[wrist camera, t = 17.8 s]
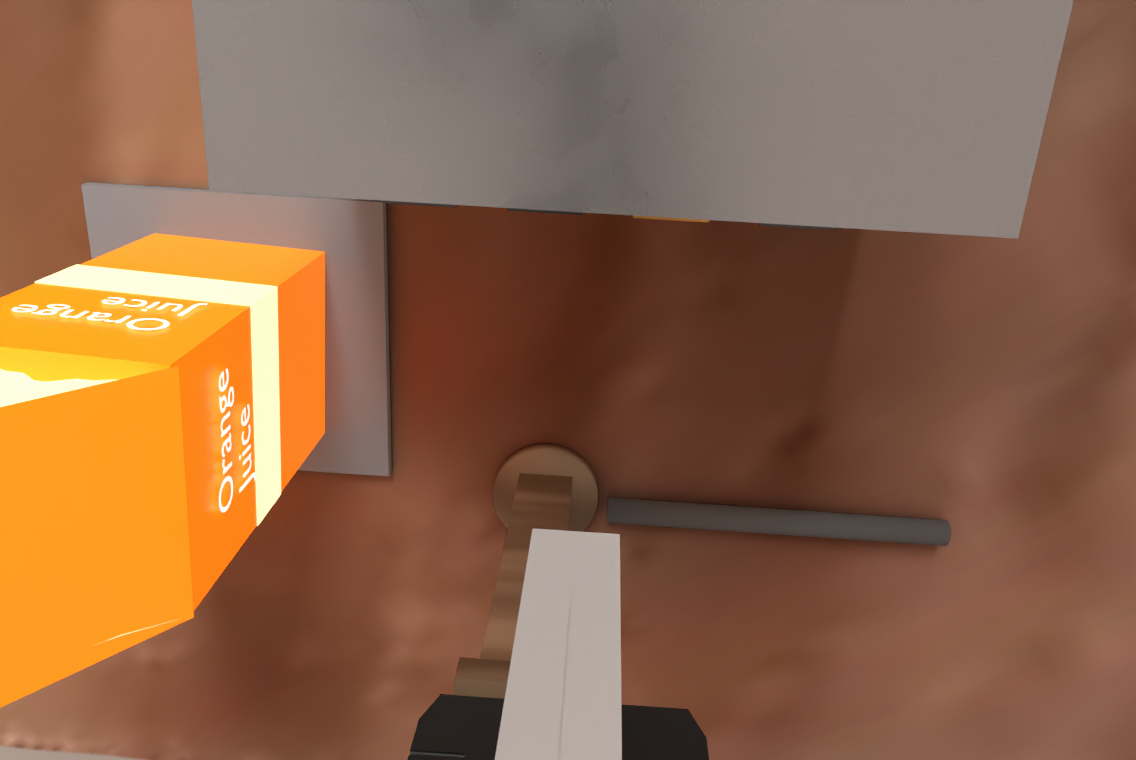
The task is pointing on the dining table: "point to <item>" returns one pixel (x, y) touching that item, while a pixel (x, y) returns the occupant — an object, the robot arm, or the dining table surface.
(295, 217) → the felt mat
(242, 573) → the dining table surface
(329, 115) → the box
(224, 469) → the orange juice
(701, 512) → the dark gray rod
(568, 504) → the cable post
